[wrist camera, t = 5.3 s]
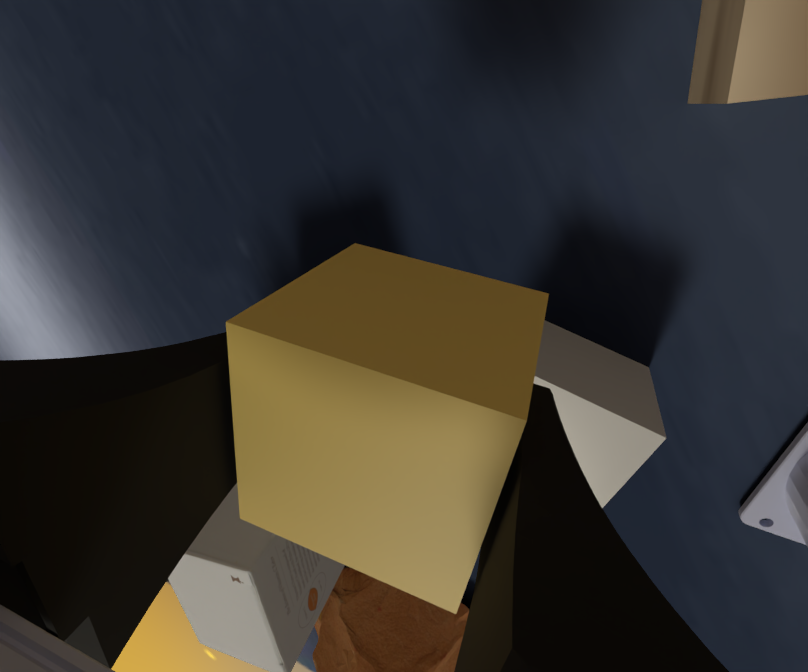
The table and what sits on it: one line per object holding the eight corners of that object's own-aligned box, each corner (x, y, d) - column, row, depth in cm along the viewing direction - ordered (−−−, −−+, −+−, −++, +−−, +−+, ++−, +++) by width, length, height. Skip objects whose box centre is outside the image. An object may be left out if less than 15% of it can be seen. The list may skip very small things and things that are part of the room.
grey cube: (648, 366, 19) (666, 438, 15) (589, 442, 22) (590, 521, 18) (541, 317, 20) (530, 373, 16) (496, 397, 23) (477, 463, 19)
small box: (279, 405, 29) (144, 538, 20) (358, 416, 27) (247, 571, 18) (302, 497, 32) (196, 646, 23) (373, 513, 30) (286, 682, 21)
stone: (337, 608, 42) (246, 682, 34) (388, 487, 37) (297, 539, 29) (465, 753, 35) (388, 891, 27) (548, 624, 30) (485, 743, 22)
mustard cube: (549, 293, 10) (527, 421, 6) (496, 448, 13) (456, 614, 9) (354, 242, 12) (225, 322, 7) (341, 394, 14) (240, 517, 10)
